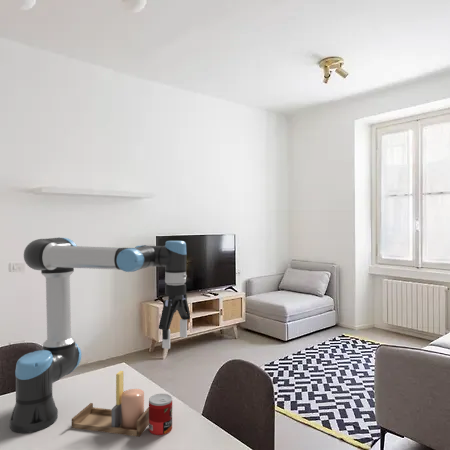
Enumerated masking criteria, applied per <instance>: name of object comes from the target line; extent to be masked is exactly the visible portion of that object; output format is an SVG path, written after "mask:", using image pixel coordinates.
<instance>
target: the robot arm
mask: <svg viewBox="0 0 450 450" xmlns="http://www.w3.org/2000/svg"><path fill="white" fill-rule="evenodd" d="M187 255H188V254H187V243H186V241H184V240H166V241H165V245H146V244H144V245H143V244H142V245H136V246H135V247H111V246H82V245H81V246H78V245H77V244H76V243H75V242H74V241H73V240H72V239H71V238H67V237H50V238H39V239H35V240H32V241H30V242H29V243H28V244H27V245H26V247H25V248H24V251H23V260H24V263H25V264H26V265H27V266H28V268H30V269H32V270H35V271H40V272H41V273H40V274H41V275H42V276H44V277H45V297H46V298H45V299H46V302H45V303H46V340H45V341H44V342H43V343H42V349H39V350H34V351H31V352H28V353H26V354H23V355H22V356H21V357H19V359H18V360H17V362H16V365H15V371H14V375H15V405H14V408H13V410H12V413H11V416H10V420H9V428H10V430H11V431H13V432H15V433H19V434H20V433H21V434H25V433H34V432H39V431H40V430H41V431H42V430H43V429H46V428H48V427H50V426H51V425H53V424H54V423H55V422H57V420H58V417H59V416H58V415H59V412H58V411H59V410H58V408H57V406H56V403H55V400H54V397H53V396H54V395H53V384H55V382H58V381H59V380H60V379H62V378H64V377H65V376H67V375H70V374H71V373H72V372H74V371H75V369H77V368H78V367H79V365H80V363H81V360H82V350H81V348H80V347H79V344H78V343H76V338H74V336H72V326H71V323H72V321H71V317H72V316H71V275H72V274H73V273H74V269H89V270H90V269H92V270H93V269H94V270H95V269H96V270H118V271H119V270H120V271H123V272H125V273H130V272H131V273H132V272H136V271H139V270H142V269H146V268H149V267H161V268H164V269H165V273H164V274H165V275H164V276H165V277H164V282H165V285H164V288H165V289H164V294H165V295H166V296H168V299H163V304H162V305H163V307H162V311H161V316H160V320H159V324H158V330H162V332H161V333H162V335H161V337H162V338H161V339H162V341H161V344H162V345H161V348H162V349H166V350H171V329H170V327H171V324H172V321H173V318H174V315H175V314H176V312H178V314H179V316H180V319H179V338H188V320H190V319H191V312H190V309H189V303H188V298H187V297H188V296H187V284H186V282H187V277H188V275H187Z"/></svg>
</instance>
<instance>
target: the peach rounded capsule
mask: <svg viewBox="0 0 450 450" xmlns="http://www.w3.org/2000/svg"><path fill="white" fill-rule="evenodd" d="M144 412H145V391H144V390H142V389H140V388H130V389H127V390H125V391H124V390H123V393H122V395H121V427H122V428H124V429H132V430H137V420H138V419H139V418H140V417H141V415H142V414H143V413H144Z"/></svg>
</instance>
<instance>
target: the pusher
mask: <svg viewBox="0 0 450 450" xmlns="http://www.w3.org/2000/svg"><path fill="white" fill-rule="evenodd" d="M115 375H116V376H115V405H114V406H113V407H112V408H111V409H112V427H116V428H117V427H118V426H119V425H120V424H121V395H122V393H123V392H124V370H119V371H118V372H117V373H115Z"/></svg>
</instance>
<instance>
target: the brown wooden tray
mask: <svg viewBox="0 0 450 450" xmlns="http://www.w3.org/2000/svg"><path fill="white" fill-rule="evenodd" d="M148 427H149V406H147V408H146V410H144V413H143V414H142V415H141V417H140V418H139V419H138V420H137V430H132V429H124V428H122V427H121V424H120V425H119V426H118V427H117V428H116V427H112V408H104V407H103V408H102V407H95V406H94V403H93V402H90V403H89V404H88V405H86V406H85V407H84V408H83V409H82V410H81V411H79V412H78V413H76V415H74V416H73V417H72V418H71V429H79V430H87V431H93V432H100V433H101V432H102V433H109V434H116V435H123V436H124V435H125V436H131V437H137V438H138V437H141V436H142V435H143V433H144V432H145V430H146V429H147V428H148Z"/></svg>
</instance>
